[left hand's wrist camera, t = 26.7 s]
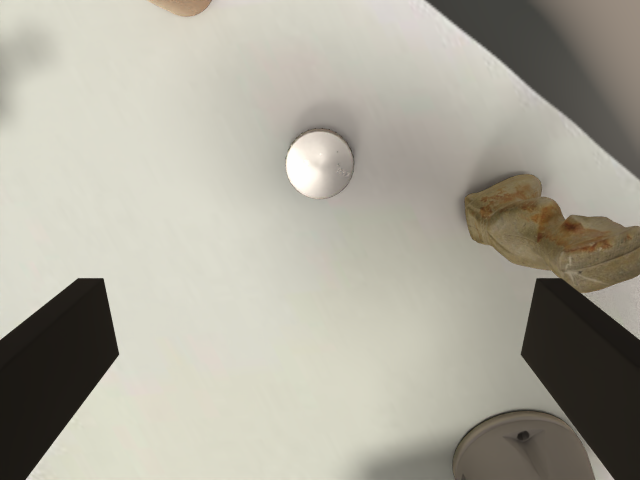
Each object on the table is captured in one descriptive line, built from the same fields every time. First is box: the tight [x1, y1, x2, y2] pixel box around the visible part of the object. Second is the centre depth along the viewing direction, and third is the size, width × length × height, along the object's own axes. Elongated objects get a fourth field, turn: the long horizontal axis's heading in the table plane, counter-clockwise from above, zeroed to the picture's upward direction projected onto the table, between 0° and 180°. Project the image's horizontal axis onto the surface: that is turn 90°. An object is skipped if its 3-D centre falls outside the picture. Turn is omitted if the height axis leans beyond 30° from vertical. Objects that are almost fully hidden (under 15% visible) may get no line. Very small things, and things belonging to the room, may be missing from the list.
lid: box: [285, 128, 354, 199], centre depth 36 cm, size 6×6×2 cm
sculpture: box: [465, 174, 640, 293], centre depth 31 cm, size 6×7×15 cm
